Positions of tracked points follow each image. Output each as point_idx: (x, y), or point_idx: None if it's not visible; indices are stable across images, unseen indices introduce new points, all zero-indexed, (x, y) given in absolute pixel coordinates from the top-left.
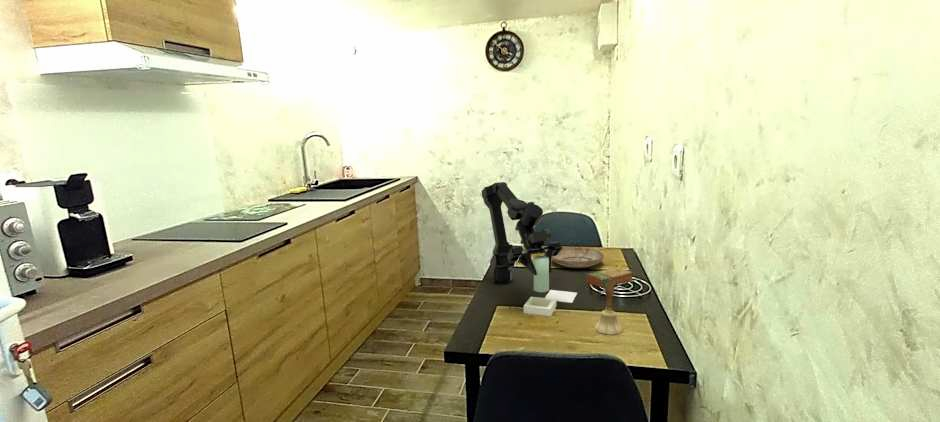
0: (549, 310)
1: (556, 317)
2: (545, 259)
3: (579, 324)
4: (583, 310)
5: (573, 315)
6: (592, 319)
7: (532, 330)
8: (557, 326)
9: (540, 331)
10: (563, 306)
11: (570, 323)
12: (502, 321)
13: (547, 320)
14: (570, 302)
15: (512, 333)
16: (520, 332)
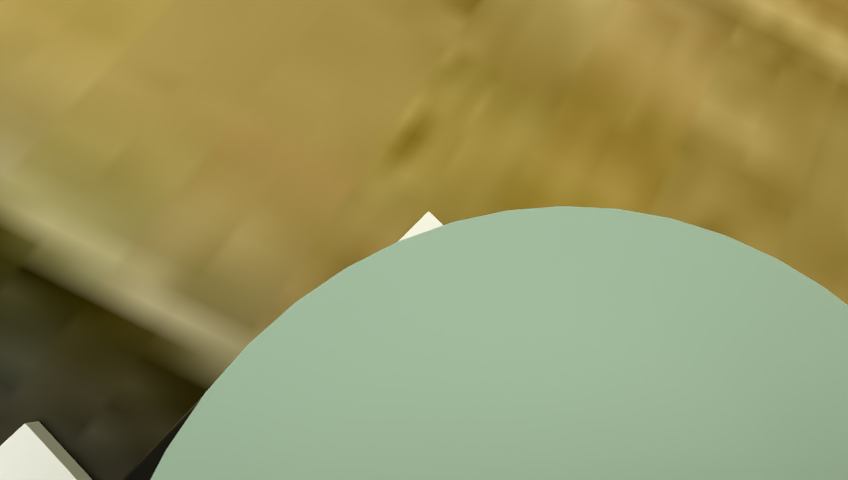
0: (433, 221)
1: (366, 220)
2: (511, 273)
3: (276, 25)
4: (44, 244)
5: (204, 190)
6: (115, 52)
7: (664, 97)
8: (455, 71)
9: (616, 57)
10: (149, 418)
11: (329, 70)
12: None
13: (469, 201)
14: (38, 436)
15: (821, 120)
16: (761, 108)
